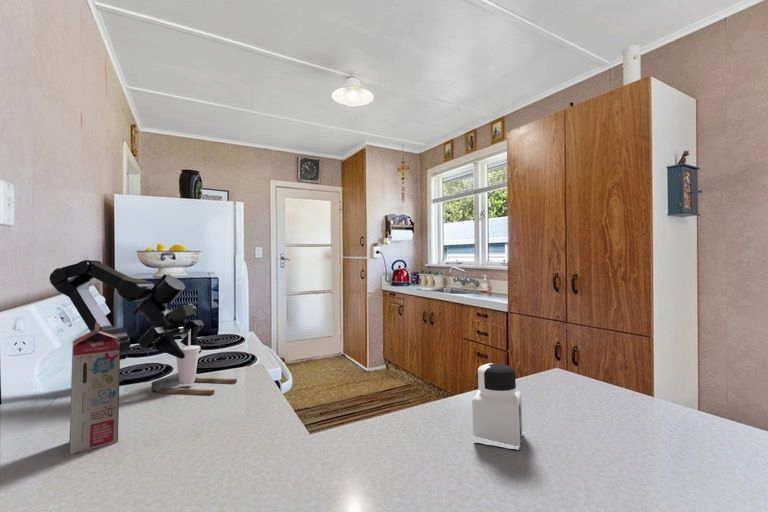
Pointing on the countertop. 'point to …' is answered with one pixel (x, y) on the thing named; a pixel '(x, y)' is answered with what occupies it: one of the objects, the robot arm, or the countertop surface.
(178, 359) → the smoothie
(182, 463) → the countertop surface
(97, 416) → the juice carton
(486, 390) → the container
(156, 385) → the guide track
